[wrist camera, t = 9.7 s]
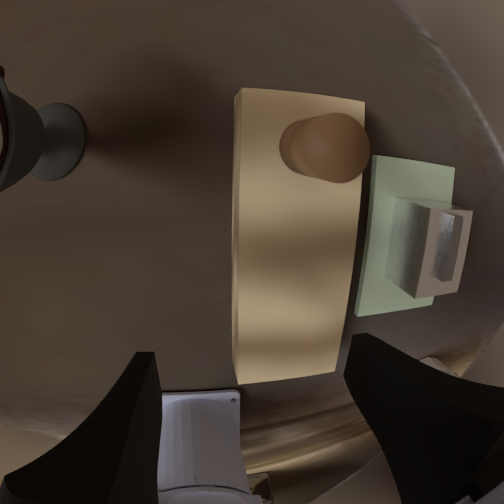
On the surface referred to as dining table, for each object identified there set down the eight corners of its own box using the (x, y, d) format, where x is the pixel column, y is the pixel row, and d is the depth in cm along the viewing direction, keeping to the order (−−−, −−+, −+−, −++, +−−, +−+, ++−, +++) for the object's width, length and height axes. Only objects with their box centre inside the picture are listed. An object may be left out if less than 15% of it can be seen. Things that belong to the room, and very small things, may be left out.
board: (427, 301, 25) (431, 304, 24) (354, 313, 23) (357, 316, 23) (449, 166, 21) (454, 167, 21) (372, 154, 20) (377, 155, 19)
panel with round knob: (320, 348, 24) (357, 407, 17) (232, 358, 23) (248, 427, 16) (341, 107, 18) (406, 94, 12) (234, 97, 17) (258, 68, 11)
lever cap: (425, 272, 23) (462, 295, 19) (384, 276, 22) (420, 302, 18) (437, 200, 21) (478, 213, 17) (394, 197, 20) (437, 210, 16)
